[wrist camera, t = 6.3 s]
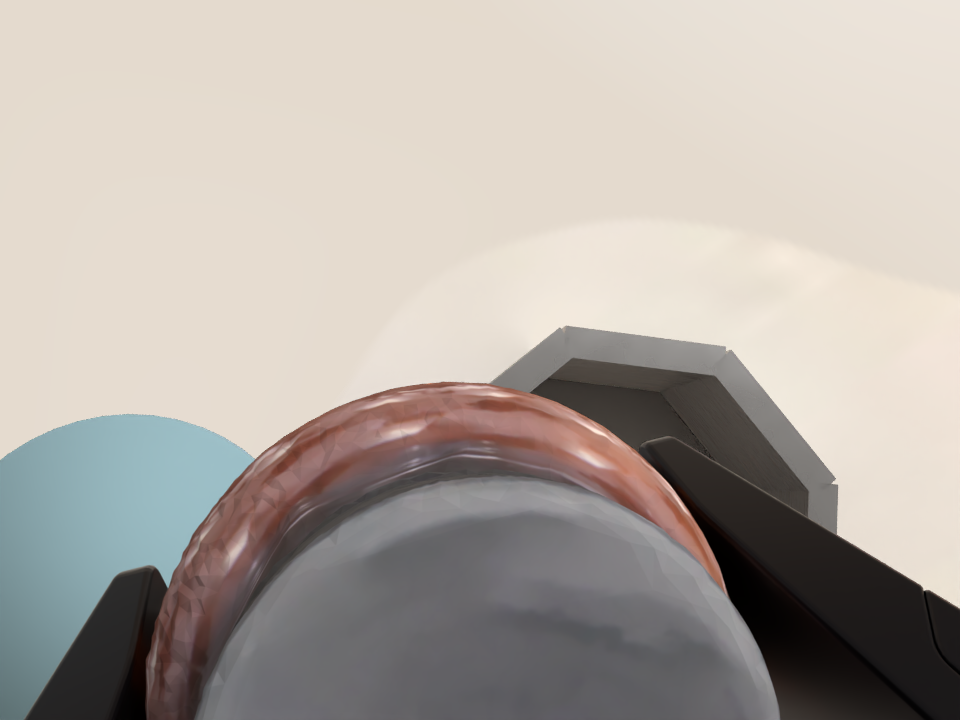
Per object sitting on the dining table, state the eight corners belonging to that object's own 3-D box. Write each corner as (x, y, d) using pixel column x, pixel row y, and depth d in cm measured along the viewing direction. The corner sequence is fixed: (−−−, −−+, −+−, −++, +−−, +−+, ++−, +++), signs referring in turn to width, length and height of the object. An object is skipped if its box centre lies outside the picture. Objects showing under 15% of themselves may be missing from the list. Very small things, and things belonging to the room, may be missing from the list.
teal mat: (77, 882, 20) (72, 890, 20) (-156, 576, 21) (-166, 577, 20) (386, 620, 22) (386, 623, 22) (168, 344, 23) (165, 342, 22)
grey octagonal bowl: (566, 814, 22) (608, 886, 18) (328, 512, 22) (319, 519, 19) (828, 561, 24) (916, 577, 20) (607, 288, 25) (652, 252, 21)
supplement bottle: (259, 434, 16) (-3, 331, 5) (545, 415, 17) (873, 291, 6) (269, 745, 15) (-17, 1464, 4) (570, 709, 16) (1011, 1226, 5)
